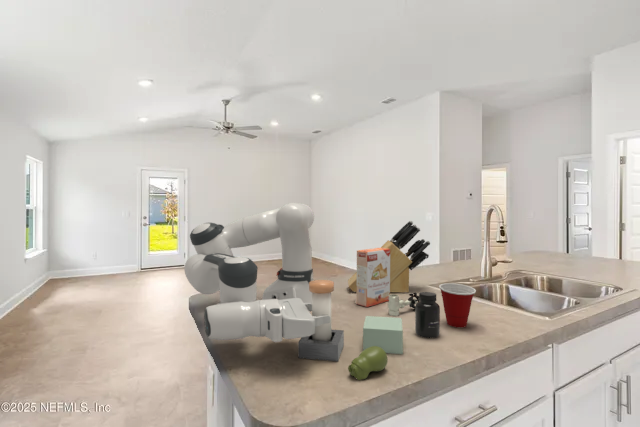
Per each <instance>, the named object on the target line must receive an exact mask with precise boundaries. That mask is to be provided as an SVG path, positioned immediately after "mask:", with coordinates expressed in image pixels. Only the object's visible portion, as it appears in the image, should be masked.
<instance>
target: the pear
mask: <svg viewBox="0 0 640 427" xmlns="http://www.w3.org/2000/svg"><path fill="white" fill-rule="evenodd" d="M387 354H388V353H386V352H385V351H384V350H383V349H382V348H381V347H378V346H372V347H369V348H367V349H365V350H364V351H363V350H362V351H361V352H360V354H359V355H358V356H357V357H355V358H353V360H351V361H350V362H351V363H350V364H349V365H348V367H347V369H348V370H347V371H348V372H349V374H350V376H352V377H353V376H354V377H355V379H356V378H357V379H356V380H358V381H362V380H361V379H363V380H365V379H367V378H368V376H369V374H370V373H371V372H381V371H383V370H384V369H385V368H386V367H387V365H388V362H389V361H388V355H387ZM354 377H353V378H354Z"/></svg>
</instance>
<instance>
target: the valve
mask: <svg viewBox="0 0 640 427" xmlns="http://www.w3.org/2000/svg"><path fill="white" fill-rule="evenodd" d="M408 295H409V297H408V299H407V300H403V299H400V296H399V294H390V295H389V301H387V308H388V315H389V316H391V317H398V316H400V310H399V309H404V308H405V307H409V308H412V310H413V312H415V306H416V303H417V302H419V301H420V300H419V295H418V293H417V292H411V293H409V294H408Z"/></svg>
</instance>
